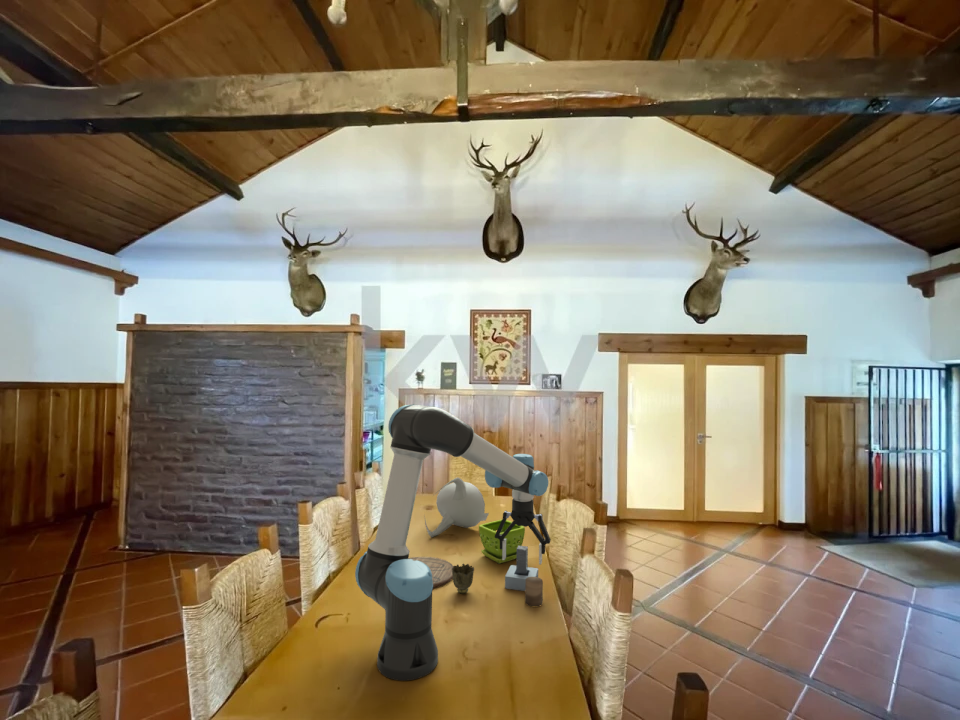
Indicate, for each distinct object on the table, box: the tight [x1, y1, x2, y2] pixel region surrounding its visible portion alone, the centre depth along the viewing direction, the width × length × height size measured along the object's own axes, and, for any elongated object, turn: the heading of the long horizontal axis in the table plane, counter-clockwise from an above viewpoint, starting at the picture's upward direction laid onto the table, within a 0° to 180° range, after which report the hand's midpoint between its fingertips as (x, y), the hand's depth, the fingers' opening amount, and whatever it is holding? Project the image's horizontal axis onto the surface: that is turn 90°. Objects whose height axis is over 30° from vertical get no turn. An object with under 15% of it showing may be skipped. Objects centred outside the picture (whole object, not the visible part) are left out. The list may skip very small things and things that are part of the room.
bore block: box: [504, 564, 539, 592], centre depth 161 cm, size 10×10×4 cm
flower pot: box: [478, 519, 526, 565], centre depth 185 cm, size 14×14×13 cm
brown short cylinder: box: [524, 576, 544, 607], centre depth 148 cm, size 6×6×7 cm
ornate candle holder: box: [452, 563, 475, 595], centre depth 155 cm, size 8×7×8 cm
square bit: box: [515, 545, 529, 576], centre depth 162 cm, size 3×3×12 cm
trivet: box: [408, 556, 454, 589], centre depth 168 cm, size 25×25×2 cm
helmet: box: [423, 477, 489, 538], centre depth 215 cm, size 24×29×35 cm
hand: (522, 560), depth 162 cm, fingers open, 12 cm apart
